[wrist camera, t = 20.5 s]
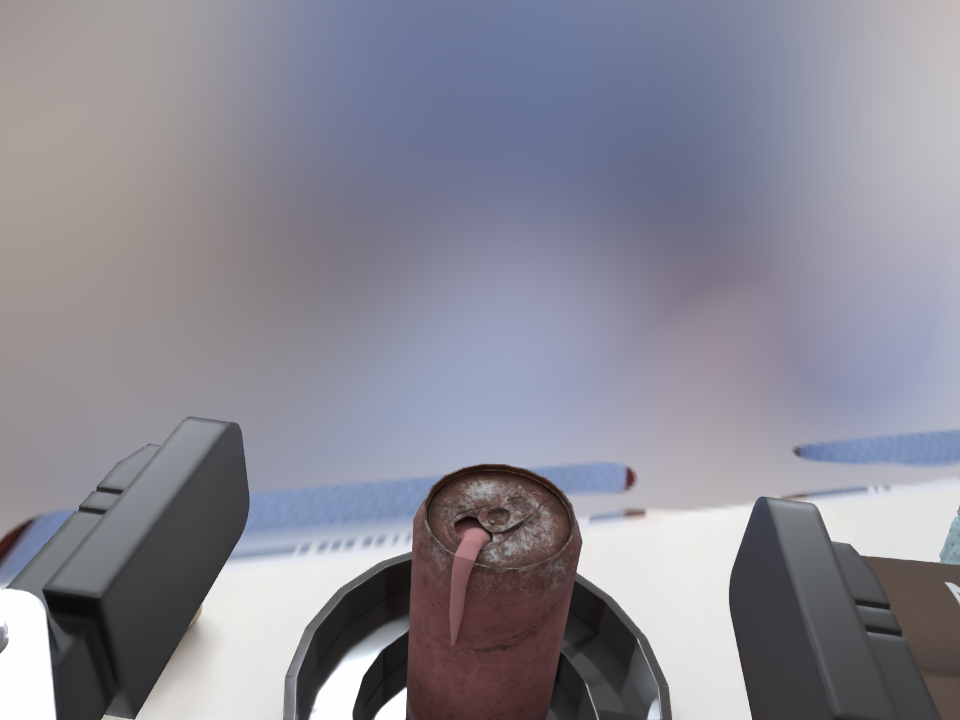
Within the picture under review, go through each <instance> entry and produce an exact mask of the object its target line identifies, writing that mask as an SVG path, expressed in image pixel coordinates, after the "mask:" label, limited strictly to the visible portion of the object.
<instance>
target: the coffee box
mask: <svg viewBox="0 0 960 720" xmlns="http://www.w3.org/2000/svg"><path fill="white" fill-rule="evenodd" d="M861 557H862V558H863V559H864V560H865V561H866V562H867V563H868V564H869V565H870V566H871V568H872V569H873V570H874V571H875V572H876V573H877V575H878V577H879V580H880V582H881V584H882V586H883V589H884V591H885V593H886V595H887V598H888V600H889V602H890V604H891V605H890V610H891V611H894V613H895V615H896V618H897V620H898V622H899V624H900V627H901V629H902V637H905V638H906V640H907V642H908V645H909V647H910V649H911V651H912V654H913V656H914V658H915V660H916V663H917V665H918V667H919V669H920V672H921V674H922V676H923V678H924V681H925V683H926V685H927V687H928V690H929V692H930V694H931V696H932V699H933V701H934V703H935V705H936V707H937V710H938V712H939V714H940V716H941V719H942V720H960V565H956V564H947V563H934V562H923V561H914V560H901V559H892V558H881V557H867V556H861Z"/></svg>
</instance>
